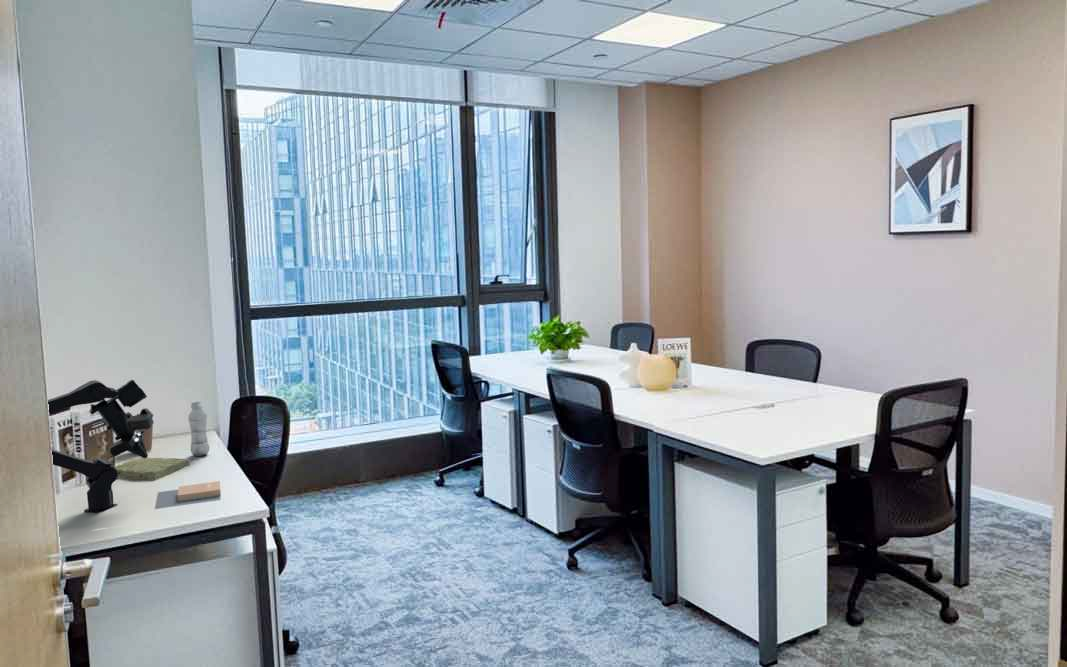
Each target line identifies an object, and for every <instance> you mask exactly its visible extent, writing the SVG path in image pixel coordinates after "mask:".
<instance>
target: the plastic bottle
mask: <svg viewBox="0 0 1067 667" xmlns="http://www.w3.org/2000/svg"><path fill="white" fill-rule="evenodd" d="M190 406H191V407H190V408H191V411H190V413H189V414H188V418H187V419H188V423H189V427H190V434H191V436H190V437H191V438H190V439H191V441H190V453H191V455H193V456H199V457H200V456H201V455H202V456H204V455H205V456H206V455H208V453H209V452H210V444H209V442H208V435H207V422H208V420H207V419H208V416H207V413H206V411H205V410H204V409H202V408H203V402H201V401H198V402H197V401H196V402H194V401H193V402H191V404H190Z"/></svg>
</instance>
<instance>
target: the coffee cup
mask: <svg viewBox="0 0 1067 667" xmlns="http://www.w3.org/2000/svg"><path fill="white" fill-rule="evenodd" d="M153 422H154V419H153ZM153 424H154V423H153ZM153 424H152V426H151V428H149V429H140V430H138V431H140V432H142V431H145V433H144V435H143V442H144V445H145V448H146V451H147V453H149V452H151V451H152V447H153V430H154V429H153V428H154V426H153ZM132 454H133V455H135V454H134V453H132Z"/></svg>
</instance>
